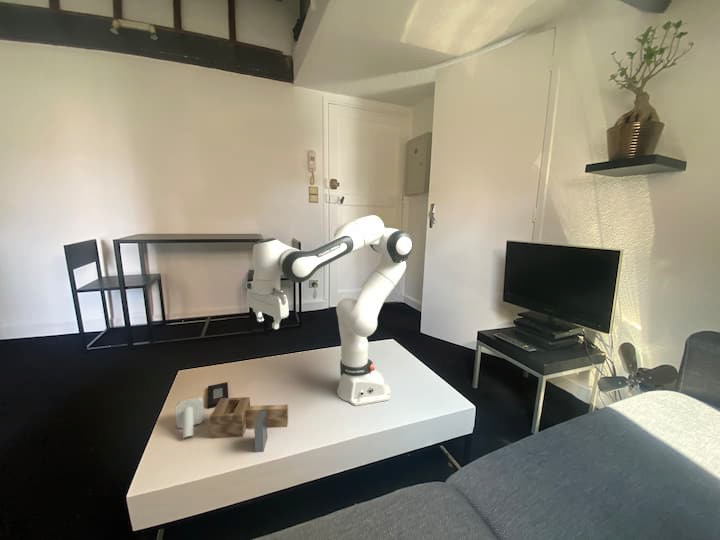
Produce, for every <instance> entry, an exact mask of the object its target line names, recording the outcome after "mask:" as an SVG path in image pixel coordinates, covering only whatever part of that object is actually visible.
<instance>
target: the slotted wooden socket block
mask: <svg viewBox="0 0 720 540" xmlns="http://www.w3.org/2000/svg"><path fill="white" fill-rule="evenodd" d="M258 411H267V429H268V428H269V429H271V428H287V427H288V424H289V404H288V403H287V404H269V405H267V404H265V405H251V398H250V396H245V397H243V396H241V397H239V396H238V397H229V398H221V399H220V401H219V402H218V404H217V406H216V407H214V410H213V411H212V412H211V414H210V416H209V421H210V422H209V423H210V434H211V436H210V437H211V439H224V438H225V439H226V438H227V439H228V438H242V437H244V435H245V433H246V430H249V429H254V422H255V420H256V417H257V414H258Z"/></svg>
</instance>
